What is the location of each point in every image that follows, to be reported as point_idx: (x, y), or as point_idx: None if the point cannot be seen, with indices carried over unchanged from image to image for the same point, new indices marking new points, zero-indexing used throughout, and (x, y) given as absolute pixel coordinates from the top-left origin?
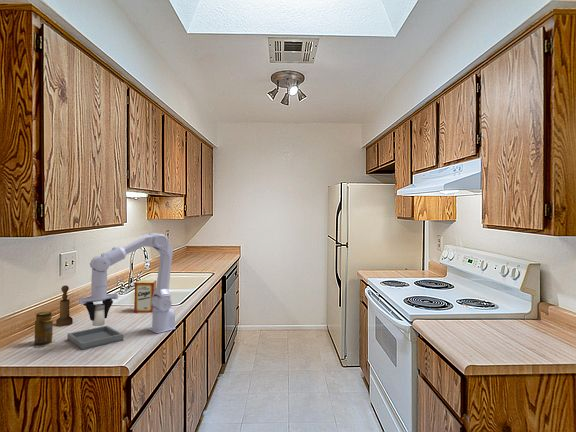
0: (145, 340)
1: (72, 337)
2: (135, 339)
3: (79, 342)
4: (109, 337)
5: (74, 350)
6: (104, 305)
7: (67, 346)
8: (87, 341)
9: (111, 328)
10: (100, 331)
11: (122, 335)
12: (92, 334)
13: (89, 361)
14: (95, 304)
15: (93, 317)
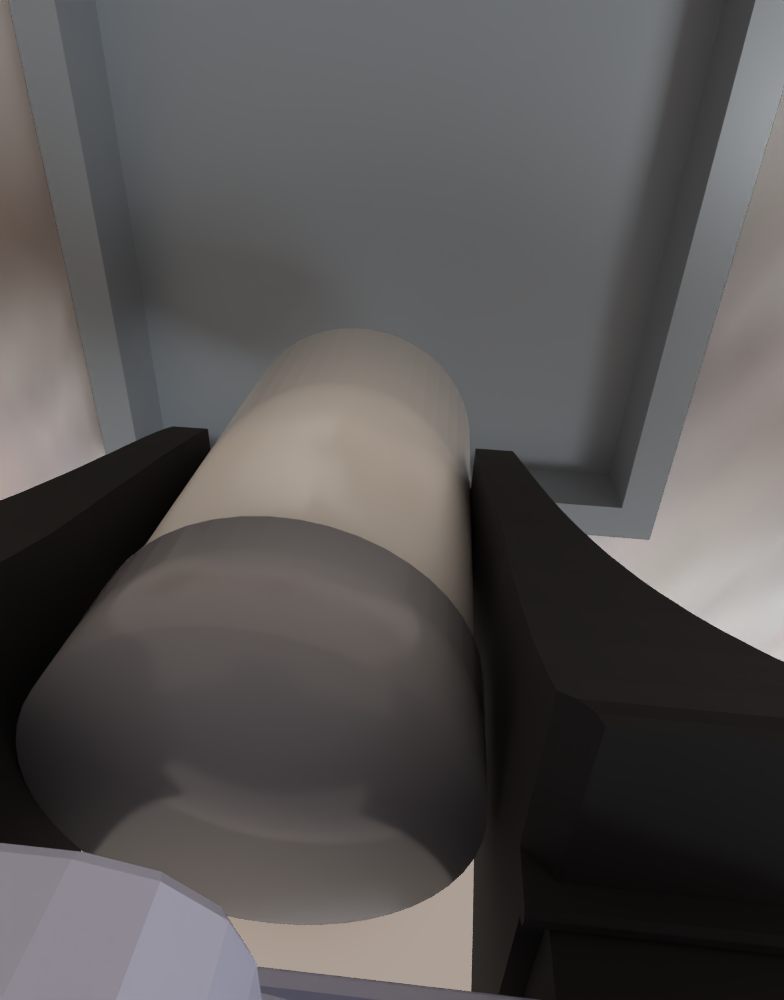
0: (772, 653)
1: (35, 113)
2: (738, 563)
3: (102, 418)
4: None
5: (78, 410)
6: (400, 898)
7: (14, 202)
8: (259, 269)
9: (759, 115)
10: None
11: (635, 530)
12: None
13: None
14: (154, 678)
15: None
